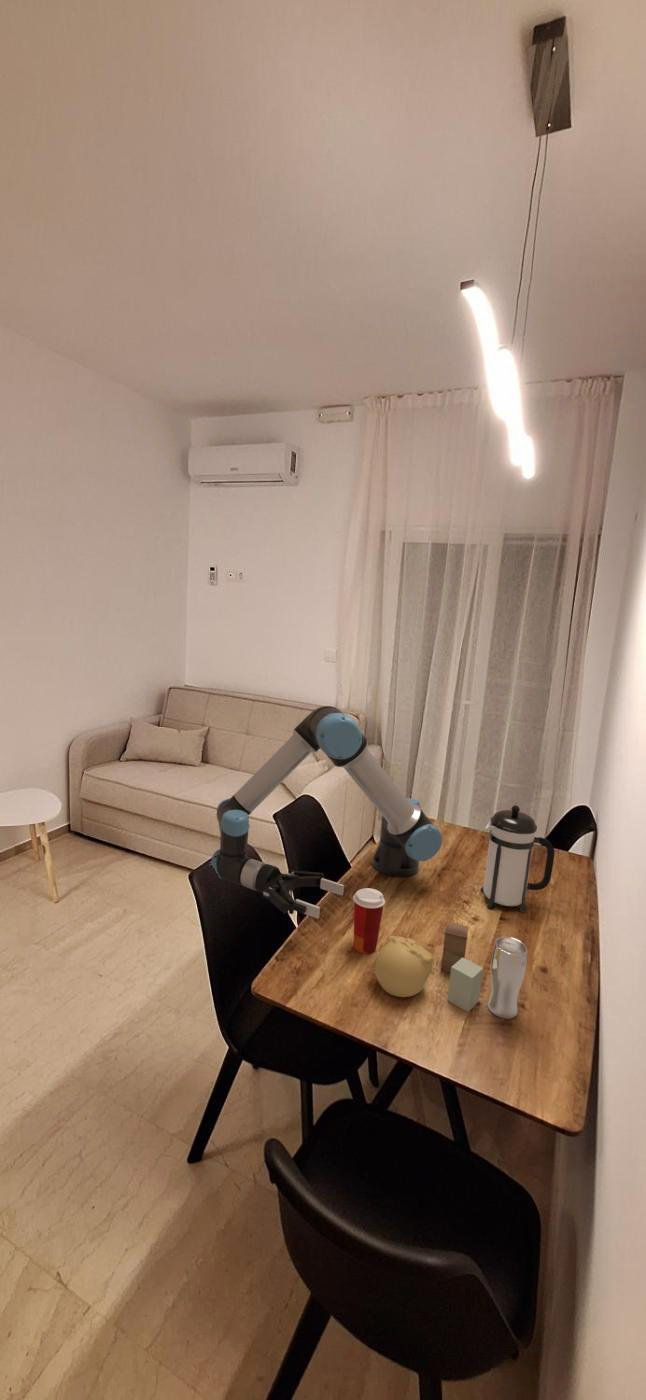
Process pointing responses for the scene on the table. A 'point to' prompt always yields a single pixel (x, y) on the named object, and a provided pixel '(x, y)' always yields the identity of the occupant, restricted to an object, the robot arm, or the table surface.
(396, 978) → the sculpture
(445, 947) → the walnut block
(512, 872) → the coffee press
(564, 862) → the table surface
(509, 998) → the beer glass
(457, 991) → the sage block
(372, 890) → the paper cup
